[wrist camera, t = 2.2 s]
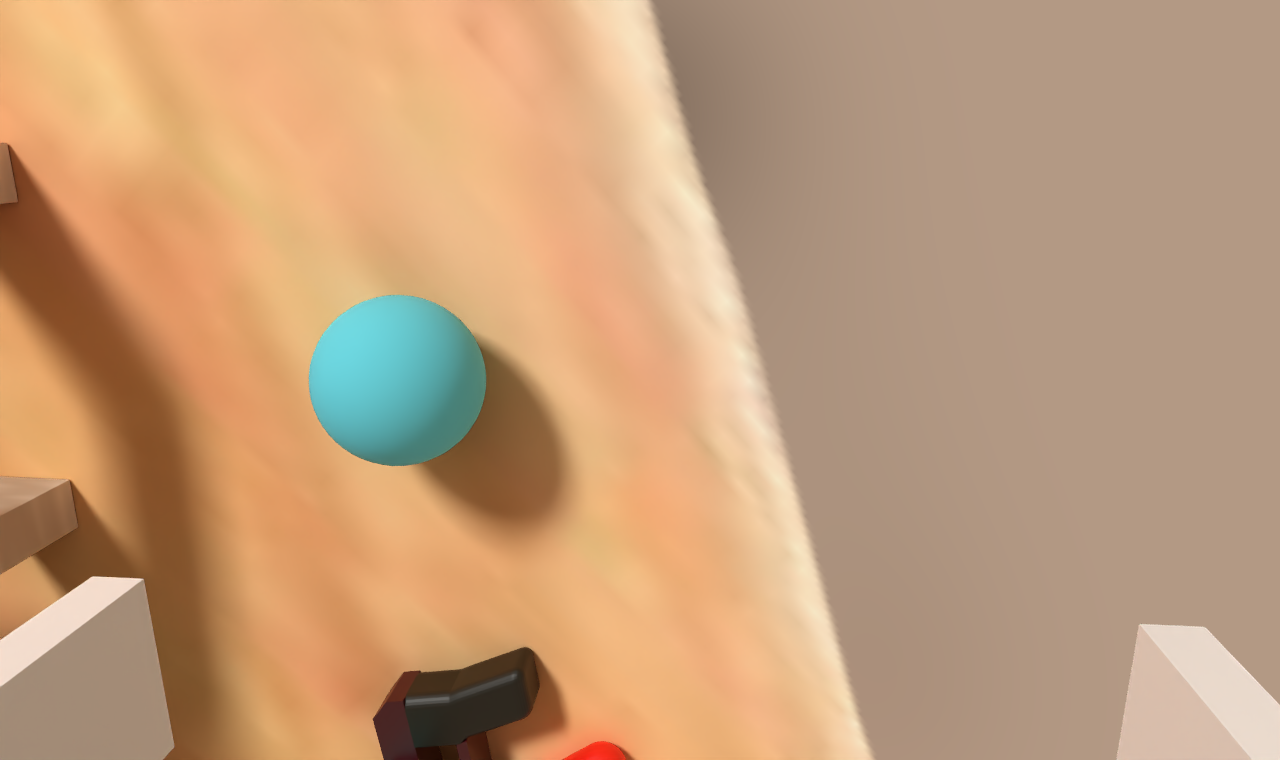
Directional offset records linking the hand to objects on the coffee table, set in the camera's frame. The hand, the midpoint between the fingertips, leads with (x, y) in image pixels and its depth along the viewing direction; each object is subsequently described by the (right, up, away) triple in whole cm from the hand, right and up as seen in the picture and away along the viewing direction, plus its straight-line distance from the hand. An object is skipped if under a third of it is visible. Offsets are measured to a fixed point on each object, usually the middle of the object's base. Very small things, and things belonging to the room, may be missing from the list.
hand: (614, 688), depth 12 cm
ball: (-7, +4, +16) cm, 18 cm away
